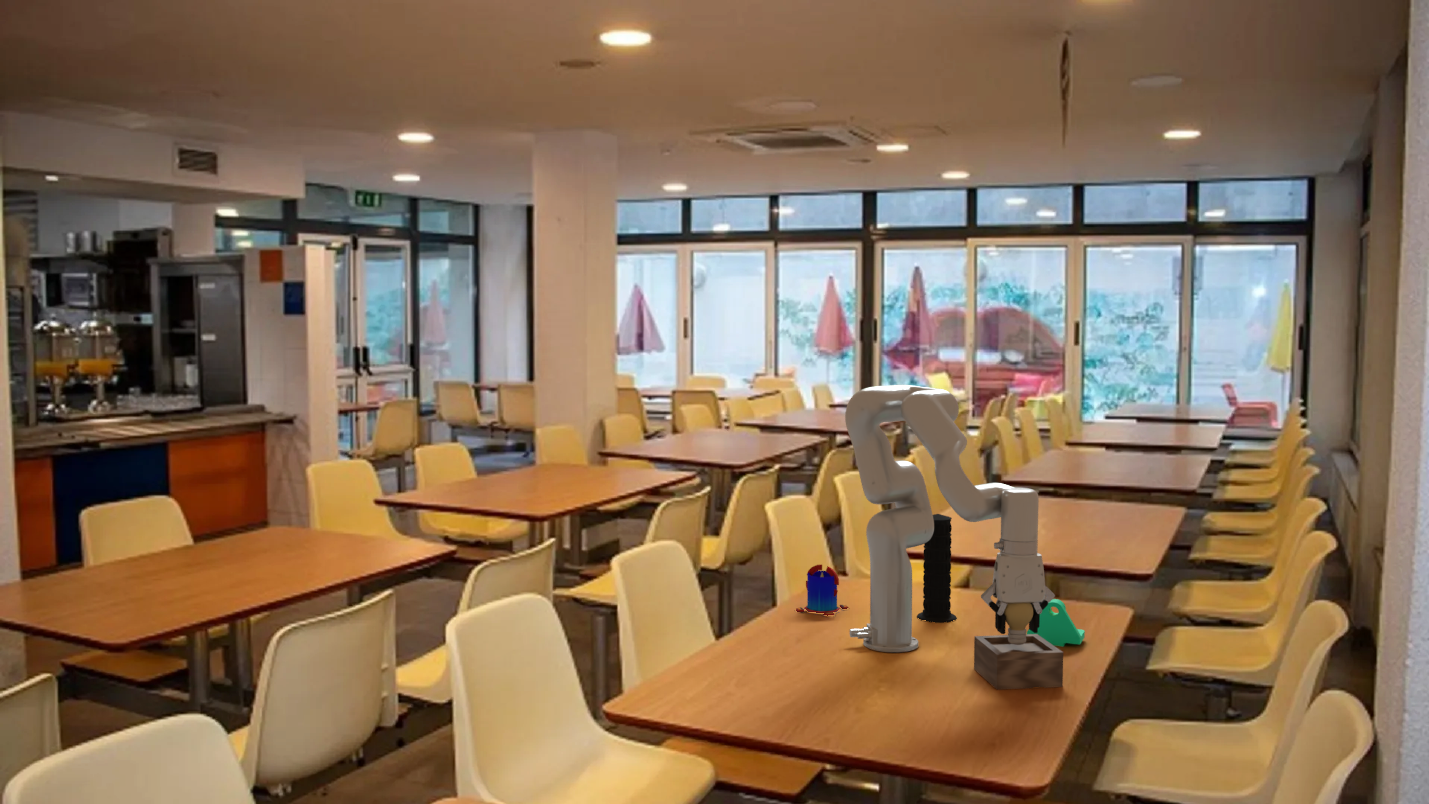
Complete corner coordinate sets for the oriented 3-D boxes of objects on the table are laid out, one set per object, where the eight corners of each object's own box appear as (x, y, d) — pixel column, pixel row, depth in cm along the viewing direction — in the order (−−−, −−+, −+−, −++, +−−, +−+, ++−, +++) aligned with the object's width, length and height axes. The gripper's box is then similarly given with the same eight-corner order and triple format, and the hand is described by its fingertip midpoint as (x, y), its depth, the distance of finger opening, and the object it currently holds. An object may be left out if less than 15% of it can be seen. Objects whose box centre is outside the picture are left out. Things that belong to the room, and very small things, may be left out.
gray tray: (996, 689, 243) (997, 654, 243) (974, 669, 257) (974, 636, 257) (1062, 686, 245) (1063, 652, 244) (1036, 666, 259) (1037, 634, 258)
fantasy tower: (852, 608, 310) (853, 562, 310) (832, 618, 300) (832, 571, 300) (812, 602, 317) (812, 558, 316) (791, 612, 307) (791, 566, 306)
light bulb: (1033, 648, 247) (1034, 601, 246) (1001, 646, 248) (1002, 599, 247) (1031, 640, 253) (1032, 593, 252) (1000, 638, 254) (1001, 592, 254)
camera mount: (1085, 640, 280) (1086, 597, 279) (1079, 649, 273) (1080, 604, 272) (1033, 635, 285) (1033, 592, 284) (1026, 643, 278) (1027, 599, 277)
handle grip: (941, 611, 307) (908, 615, 303) (942, 509, 305) (909, 512, 301) (965, 620, 298) (931, 624, 294) (966, 515, 296) (932, 518, 292)
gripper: (984, 552, 244) (983, 638, 246) (1066, 550, 246) (1063, 635, 248) (972, 544, 252) (971, 628, 253) (1051, 542, 254) (1049, 625, 255)
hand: (1017, 631), depth 250 cm, fingers closed on light bulb, 6 cm apart
